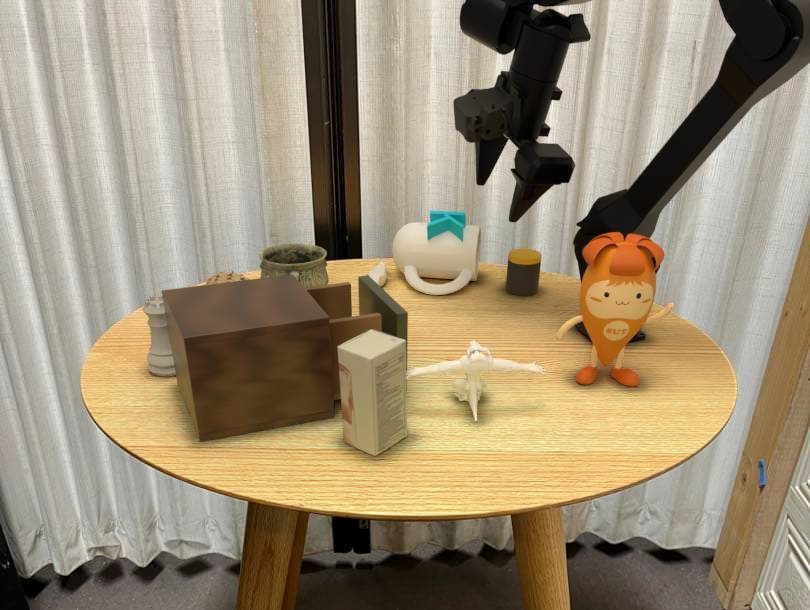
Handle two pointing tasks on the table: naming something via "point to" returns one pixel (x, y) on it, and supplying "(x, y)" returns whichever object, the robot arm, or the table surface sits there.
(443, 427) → the table surface
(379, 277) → the pale tapered spike
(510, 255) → the yellow and grey canister
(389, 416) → the printed medicine carton
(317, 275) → the vessel
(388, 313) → the drawer
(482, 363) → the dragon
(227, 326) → the cabinet
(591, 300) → the toy figure
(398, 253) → the mug
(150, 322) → the rook chess piece
